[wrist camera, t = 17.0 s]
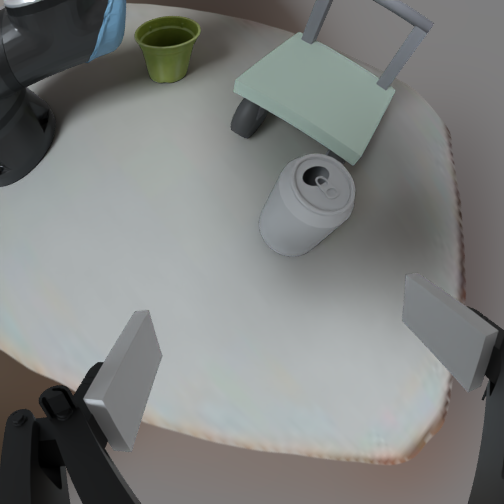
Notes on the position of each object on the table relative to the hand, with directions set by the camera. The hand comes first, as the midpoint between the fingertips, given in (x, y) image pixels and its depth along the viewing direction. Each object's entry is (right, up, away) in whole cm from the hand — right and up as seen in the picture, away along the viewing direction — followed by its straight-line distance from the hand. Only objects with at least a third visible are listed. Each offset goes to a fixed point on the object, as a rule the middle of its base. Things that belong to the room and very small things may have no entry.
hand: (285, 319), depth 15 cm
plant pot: (-15, +32, +27) cm, 44 cm away
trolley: (+6, +21, +27) cm, 35 cm away
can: (+3, +6, +23) cm, 24 cm away
